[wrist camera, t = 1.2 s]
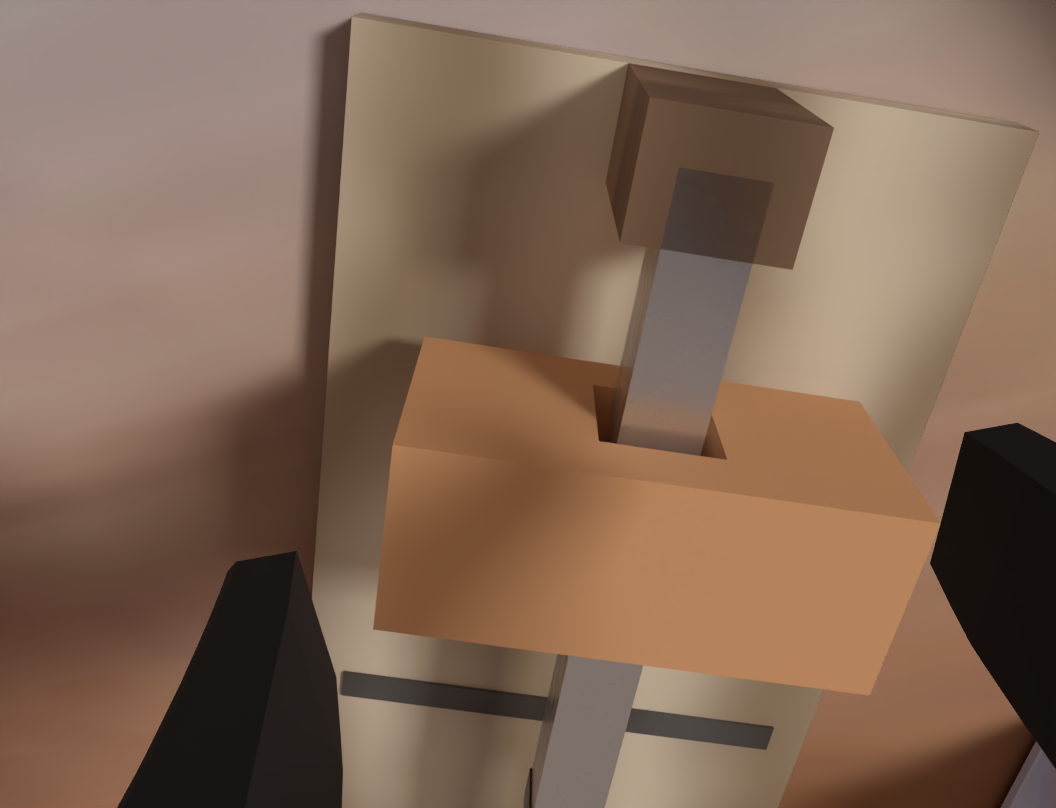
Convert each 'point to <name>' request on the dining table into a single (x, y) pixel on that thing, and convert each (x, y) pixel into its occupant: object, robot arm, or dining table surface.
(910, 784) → the dining table surface
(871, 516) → the collar
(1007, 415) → the dining table surface
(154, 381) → the dining table surface
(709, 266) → the rod
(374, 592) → the board
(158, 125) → the dining table surface
